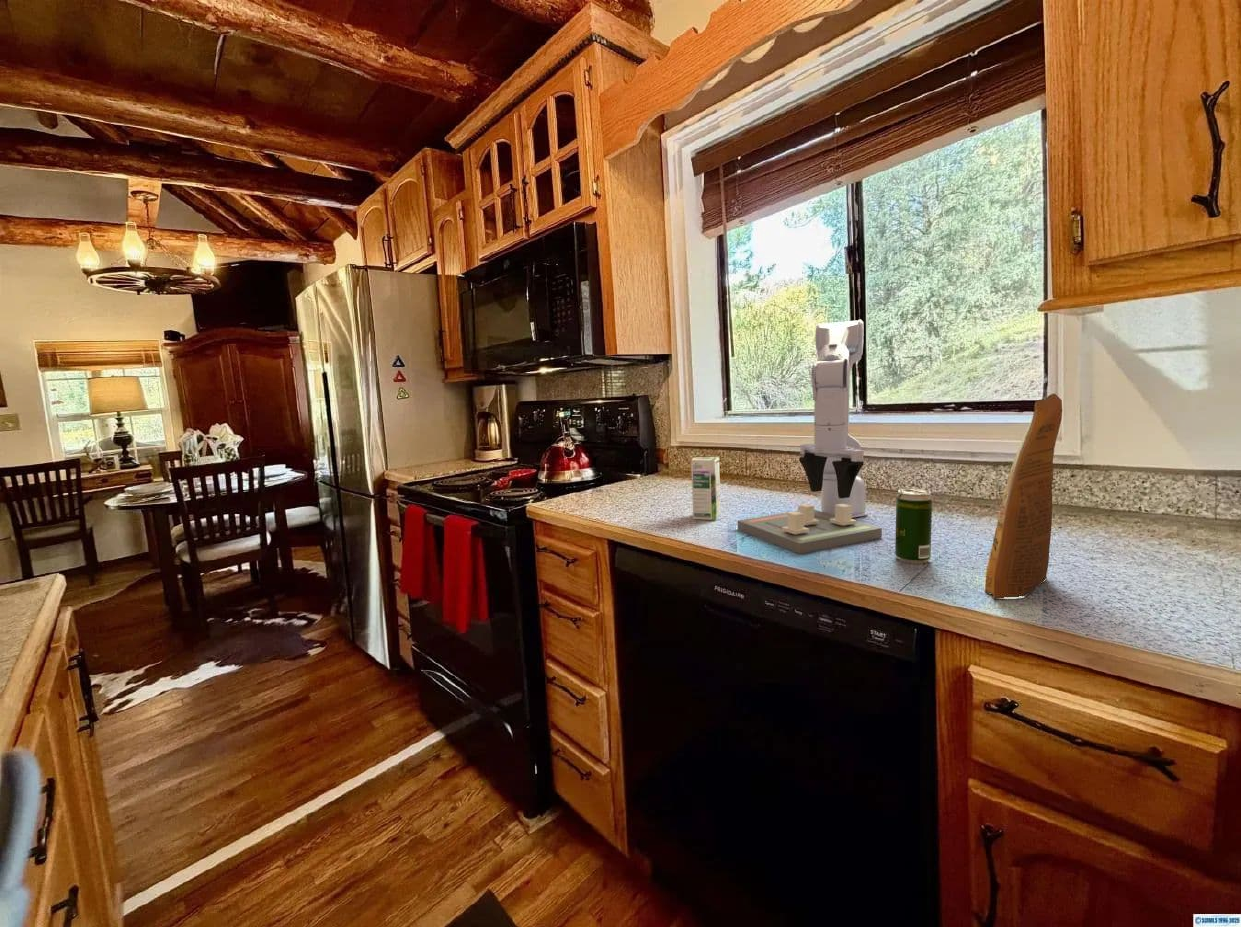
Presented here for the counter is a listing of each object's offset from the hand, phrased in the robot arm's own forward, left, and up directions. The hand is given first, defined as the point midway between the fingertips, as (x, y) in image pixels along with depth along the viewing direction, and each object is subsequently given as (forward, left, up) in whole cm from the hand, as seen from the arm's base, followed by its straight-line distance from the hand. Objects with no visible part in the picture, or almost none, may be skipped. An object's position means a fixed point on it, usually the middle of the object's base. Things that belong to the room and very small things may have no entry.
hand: (829, 494), depth 104 cm
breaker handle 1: (+6, -3, -7) cm, 10 cm away
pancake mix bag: (-7, +31, -10) cm, 34 cm away
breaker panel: (0, -7, -9) cm, 12 cm away
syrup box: (+10, -30, -10) cm, 33 cm away
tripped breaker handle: (0, -7, -7) cm, 10 cm away
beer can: (-4, +15, -10) cm, 18 cm away
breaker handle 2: (-6, -3, -7) cm, 10 cm away
